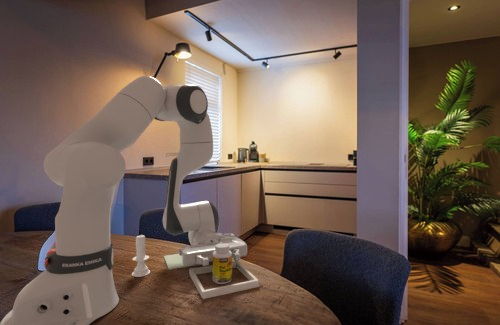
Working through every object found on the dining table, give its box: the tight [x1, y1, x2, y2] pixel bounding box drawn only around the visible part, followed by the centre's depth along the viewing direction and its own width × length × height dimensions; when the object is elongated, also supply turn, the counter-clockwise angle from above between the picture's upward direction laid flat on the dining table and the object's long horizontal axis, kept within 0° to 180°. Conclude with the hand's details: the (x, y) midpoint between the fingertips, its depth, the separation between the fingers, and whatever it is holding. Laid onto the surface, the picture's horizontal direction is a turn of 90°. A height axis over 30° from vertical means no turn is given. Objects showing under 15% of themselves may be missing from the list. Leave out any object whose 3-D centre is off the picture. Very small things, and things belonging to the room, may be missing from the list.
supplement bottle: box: [212, 243, 233, 285], centre depth 80 cm, size 6×6×10 cm
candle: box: [131, 234, 151, 278], centre depth 85 cm, size 5×5×12 cm
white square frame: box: [188, 260, 260, 300], centre depth 80 cm, size 16×16×2 cm
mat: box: [163, 253, 203, 271], centre depth 95 cm, size 12×12×1 cm
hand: (222, 260), depth 79 cm, fingers open, 8 cm apart
